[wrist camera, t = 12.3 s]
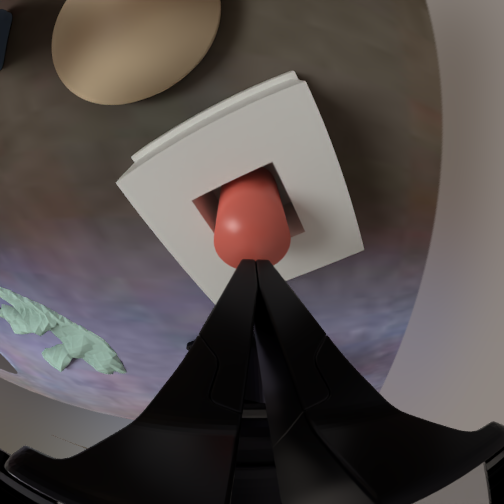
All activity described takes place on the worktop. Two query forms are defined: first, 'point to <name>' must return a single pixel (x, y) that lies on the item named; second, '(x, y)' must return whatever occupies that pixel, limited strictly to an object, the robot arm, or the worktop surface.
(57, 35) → the coaster
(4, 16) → the vaping device
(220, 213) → the button
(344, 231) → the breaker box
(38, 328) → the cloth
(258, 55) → the worktop surface
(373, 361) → the worktop surface
